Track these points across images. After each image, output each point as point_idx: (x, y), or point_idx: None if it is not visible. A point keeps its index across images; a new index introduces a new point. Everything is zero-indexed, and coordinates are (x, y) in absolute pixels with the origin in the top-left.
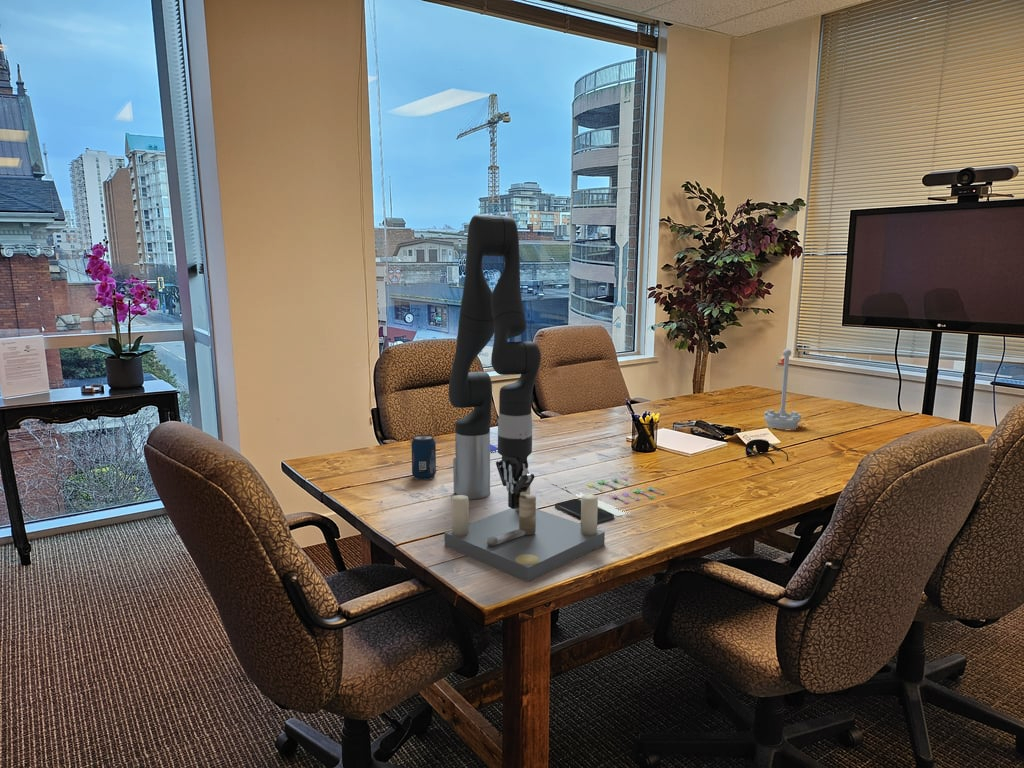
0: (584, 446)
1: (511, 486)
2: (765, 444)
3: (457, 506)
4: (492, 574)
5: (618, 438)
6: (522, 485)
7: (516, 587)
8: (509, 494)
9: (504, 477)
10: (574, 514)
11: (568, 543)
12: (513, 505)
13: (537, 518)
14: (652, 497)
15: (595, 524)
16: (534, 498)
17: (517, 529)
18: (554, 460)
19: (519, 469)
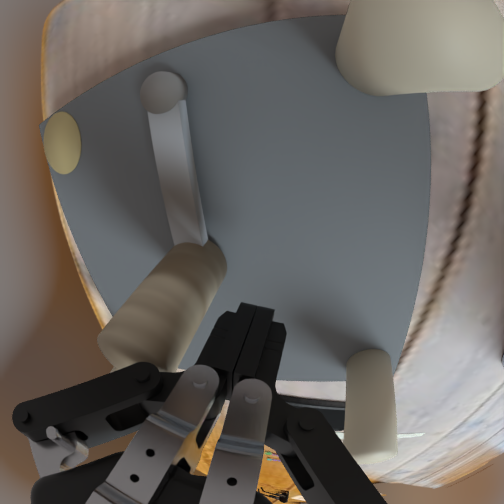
0: (433, 469)
1: (193, 406)
2: (281, 498)
3: None
4: (120, 55)
5: (410, 482)
6: (68, 392)
7: (60, 86)
8: (244, 362)
9: (255, 469)
10: (291, 401)
11: (106, 282)
12: (232, 317)
13: (284, 348)
14: (266, 453)
15: None
16: (110, 361)
17: (200, 236)
18: (450, 450)
19: (47, 481)
